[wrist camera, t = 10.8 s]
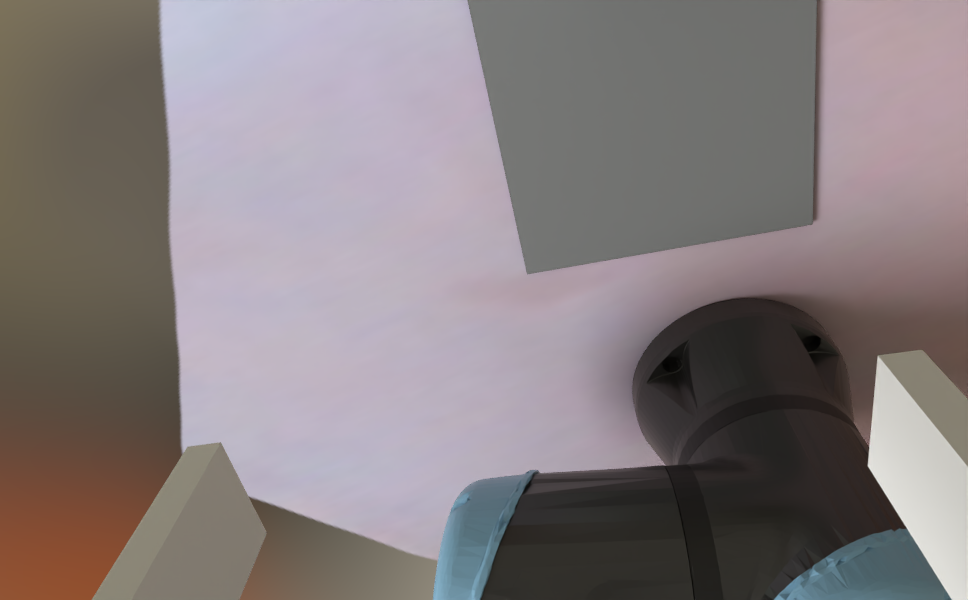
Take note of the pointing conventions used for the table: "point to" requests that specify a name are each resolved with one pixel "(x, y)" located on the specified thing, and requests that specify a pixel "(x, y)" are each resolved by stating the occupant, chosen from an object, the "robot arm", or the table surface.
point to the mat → (649, 121)
